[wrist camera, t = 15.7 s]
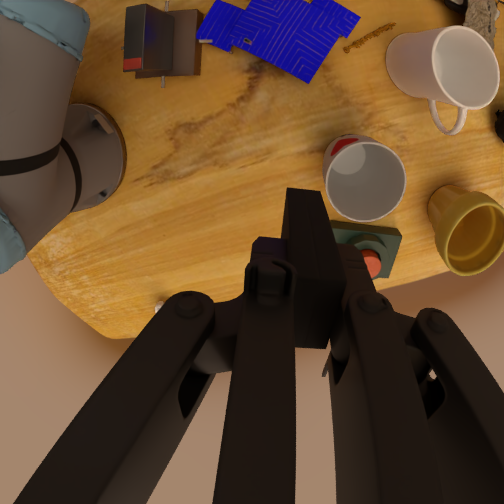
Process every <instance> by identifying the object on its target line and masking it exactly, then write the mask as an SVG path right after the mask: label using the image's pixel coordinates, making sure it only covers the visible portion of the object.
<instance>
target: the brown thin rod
mask: <svg viewBox="0 0 504 504" xmlns="http://www.w3.org/2000/svg"><path fill="white" fill-rule="evenodd" d="M395 24H396V23H390V24H388V25H385V26H384V27H382V28H381V27H380V28H379V29H378V30H376V31H373V33H370V34H367V35H366V36H365V37H364V38H361V39H360V41H357V42H353V45H350V46H349V48H347V47H344V51H345V52H346V51H347V50H348V52H346V53H349V52H350V51H349V49H350V48H352V47H356V48H360V46H358V45H361V44H364V42H363V41H365V42H366V40H368V38H369V39H371V38H372V36H373V37H375V36H374V35H376V36H379V35H380V32H383V31H384V30H386V31H387V30H388V29H389V28H390V29H392V26H395ZM390 25H391V26H390ZM345 48H347V49H346V50H345Z"/></svg>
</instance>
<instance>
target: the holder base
mask: <svg viewBox="0 0 504 504" xmlns="http://www.w3.org/2000/svg"><path fill="white" fill-rule="evenodd" d="M168 6H169V1H165V12H166V13H168V14H170V15H172V16H174V30H173V50H172V70H159V71H136V75H135V78H136V79H137V78H149V77H162V80H161V88H165V76H190V75H200V67H201V47H202V43H212V39H209V40H199V39H196V33H197V31H198V29H199V27H200V26H201V24H202V22H203V16H204V14H203V13H202V12H200V11H199V10H198V9H192V10H179V11H168ZM121 50H124V47H121Z"/></svg>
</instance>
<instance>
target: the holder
mask: <svg viewBox="0 0 504 504" xmlns="http://www.w3.org/2000/svg"><path fill="white" fill-rule="evenodd" d="M173 30H174V16H172V15H170V14H168V13H166V12H163V11H161V10H159V9H157V8H155V7H153V6H150V5H148V4H141V5H135V6H129V7H126V19H125V36H124V66H123V71H124V72H135V71H159V70H172V50H173Z"/></svg>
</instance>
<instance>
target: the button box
mask: <svg viewBox="0 0 504 504" xmlns="http://www.w3.org/2000/svg"><path fill="white" fill-rule="evenodd" d="M330 223H331V227H332V230H333V233H334V236H335V240H336V243H342V244H352V245H354V246H356V247H357V248H358V249H359V250H360V251H361V250H365V249H369V250H373V251H374V252H375V253H376V254H377V255H378V258H379V260H380V262H381V270H380V272H379V273H378V274H377V275H376V276H375V277H373V278H372V280H374V279H377V278H378V277H380V278H389V275H390V272H391V269H392V266H393V263H394V261H395V258H396V255H397V252H398V249H399V245H400V242H401V239H402V235H401V234H400V232H399V230H398V229H395V228H387V227H379V226H371V225H363V224H355V223H346V222H338V221H330Z"/></svg>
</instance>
